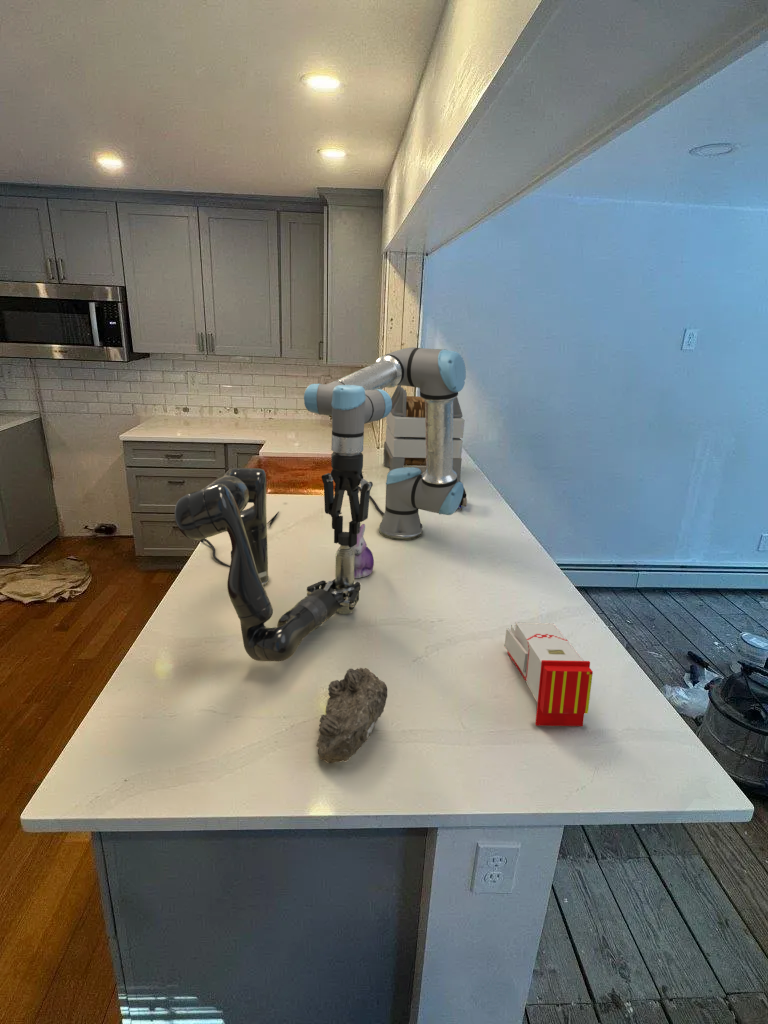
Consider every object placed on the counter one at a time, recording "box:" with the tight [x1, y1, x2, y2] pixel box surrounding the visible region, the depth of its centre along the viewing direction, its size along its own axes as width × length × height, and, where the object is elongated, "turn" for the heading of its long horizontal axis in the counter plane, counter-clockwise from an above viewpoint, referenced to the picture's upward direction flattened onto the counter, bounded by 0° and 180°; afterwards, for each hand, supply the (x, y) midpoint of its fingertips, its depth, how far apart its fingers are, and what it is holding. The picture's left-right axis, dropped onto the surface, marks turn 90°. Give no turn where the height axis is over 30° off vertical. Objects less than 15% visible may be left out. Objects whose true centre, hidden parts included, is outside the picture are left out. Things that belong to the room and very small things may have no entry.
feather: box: [267, 512, 279, 529], centre depth 212 cm, size 2×28×2 cm
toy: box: [503, 622, 594, 727], centre depth 121 cm, size 12×13×30 cm
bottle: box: [334, 545, 355, 615], centre depth 145 cm, size 5×5×21 cm
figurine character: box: [457, 488, 468, 511], centre depth 230 cm, size 7×8×15 cm
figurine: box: [351, 523, 375, 579], centre depth 167 cm, size 9×10×15 cm
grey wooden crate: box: [383, 385, 465, 482], centre depth 268 cm, size 34×33×41 cm
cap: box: [337, 531, 349, 546], centre depth 142 cm, size 4×4×2 cm
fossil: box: [316, 667, 388, 764], centre depth 106 cm, size 22×10×15 cm
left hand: (349, 582), depth 148 cm, fingers closed on bottle, 5 cm apart
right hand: (345, 543), depth 142 cm, fingers closed on cap, 4 cm apart
